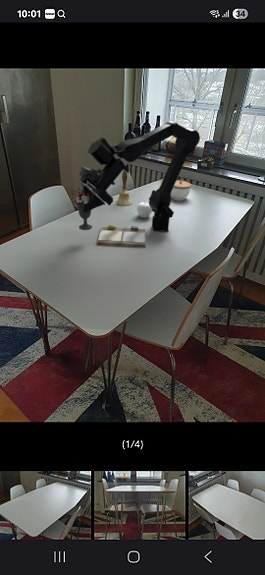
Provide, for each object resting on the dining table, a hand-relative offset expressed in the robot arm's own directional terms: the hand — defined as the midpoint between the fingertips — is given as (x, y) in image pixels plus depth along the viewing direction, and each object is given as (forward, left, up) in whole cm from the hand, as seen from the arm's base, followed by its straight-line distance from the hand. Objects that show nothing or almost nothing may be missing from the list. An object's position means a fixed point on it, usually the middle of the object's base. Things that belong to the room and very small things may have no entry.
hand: (80, 208), depth 112 cm
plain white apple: (-23, -28, -13) cm, 39 cm away
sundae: (-1, -1, -8) cm, 8 cm away
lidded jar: (-41, -55, -13) cm, 71 cm away
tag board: (-15, -5, -13) cm, 21 cm away
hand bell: (-13, -44, -13) cm, 48 cm away
